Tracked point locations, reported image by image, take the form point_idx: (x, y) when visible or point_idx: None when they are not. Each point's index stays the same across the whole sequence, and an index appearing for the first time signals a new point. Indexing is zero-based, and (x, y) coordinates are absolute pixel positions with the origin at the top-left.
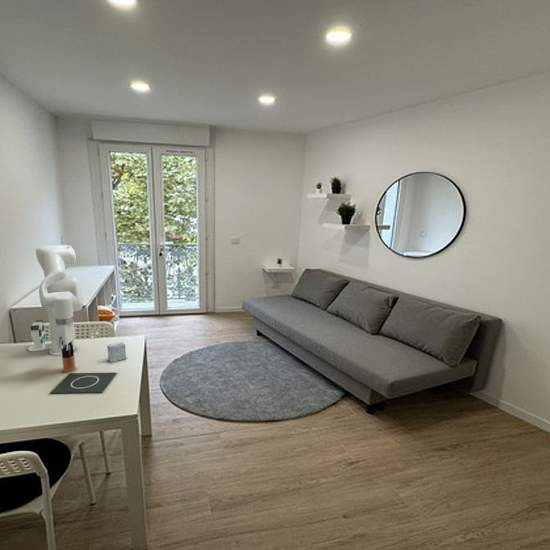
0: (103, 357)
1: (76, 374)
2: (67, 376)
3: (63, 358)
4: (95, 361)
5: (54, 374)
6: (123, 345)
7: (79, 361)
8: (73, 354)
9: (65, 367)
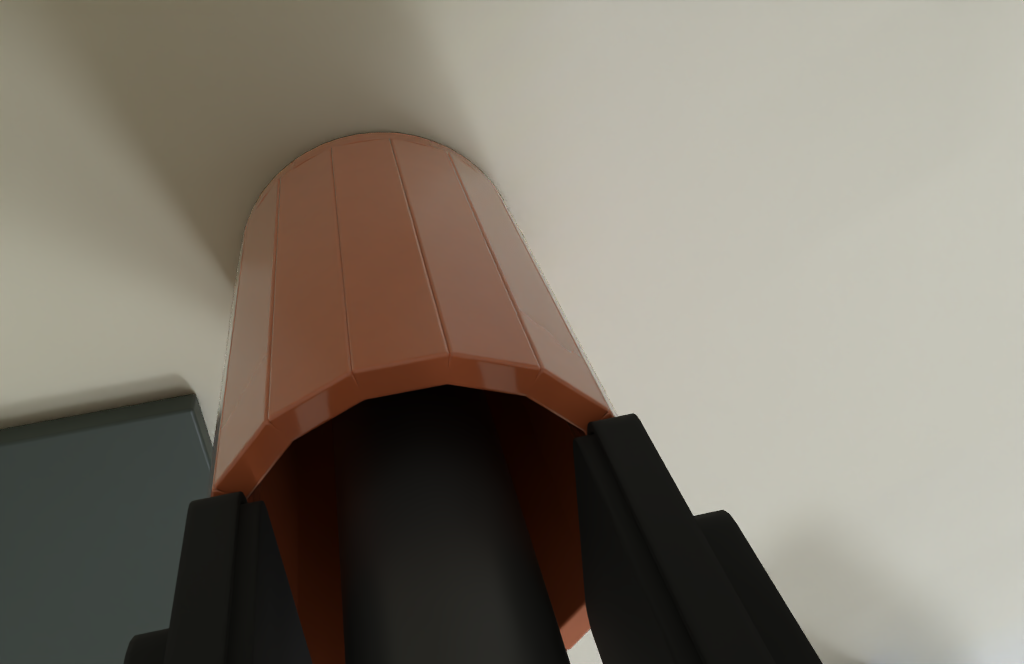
0: (1006, 528)
1: (172, 568)
2: (17, 463)
3: (213, 489)
4: (842, 499)
5: (82, 2)
6: None
7: (884, 186)
8: (563, 634)
9: (227, 343)
